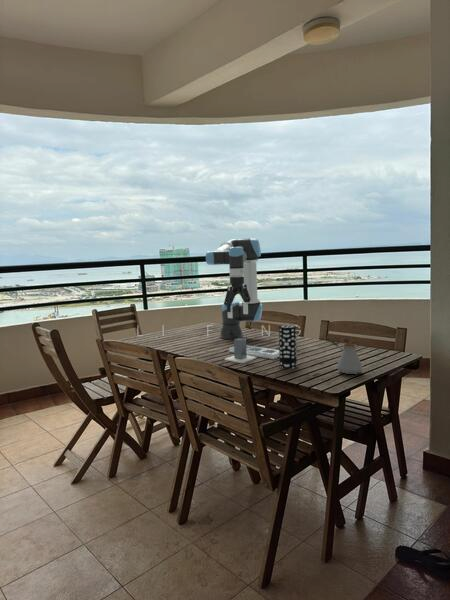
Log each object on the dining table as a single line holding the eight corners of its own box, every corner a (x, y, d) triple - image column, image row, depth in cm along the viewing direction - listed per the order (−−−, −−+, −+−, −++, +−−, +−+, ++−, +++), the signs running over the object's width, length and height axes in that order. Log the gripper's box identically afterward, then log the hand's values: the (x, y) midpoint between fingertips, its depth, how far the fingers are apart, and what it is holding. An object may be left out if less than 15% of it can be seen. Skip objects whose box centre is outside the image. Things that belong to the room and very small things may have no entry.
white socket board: (229, 351, 238) (229, 347, 238) (240, 348, 246) (239, 344, 245) (273, 359, 219) (273, 354, 219) (283, 355, 227) (283, 350, 226)
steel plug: (239, 356, 225) (239, 337, 224) (246, 357, 222) (246, 338, 221) (234, 358, 221) (233, 339, 220) (241, 359, 218) (240, 340, 217)
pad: (238, 355, 230) (238, 353, 230) (256, 358, 222) (256, 356, 222) (224, 360, 221) (224, 358, 221) (242, 363, 213) (242, 361, 213)
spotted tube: (286, 369, 200) (285, 328, 197) (276, 365, 207) (275, 326, 205) (300, 367, 204) (299, 326, 201) (289, 363, 211) (289, 324, 208)
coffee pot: (368, 373, 190) (368, 341, 188) (350, 378, 184) (351, 344, 182) (332, 363, 208) (332, 333, 206) (315, 367, 202) (315, 337, 200)
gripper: (227, 278, 208) (228, 320, 211) (256, 274, 227) (257, 313, 230) (216, 278, 213) (217, 319, 216) (245, 274, 232) (246, 311, 235)
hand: (238, 316), depth 223 cm, fingers open, 13 cm apart
